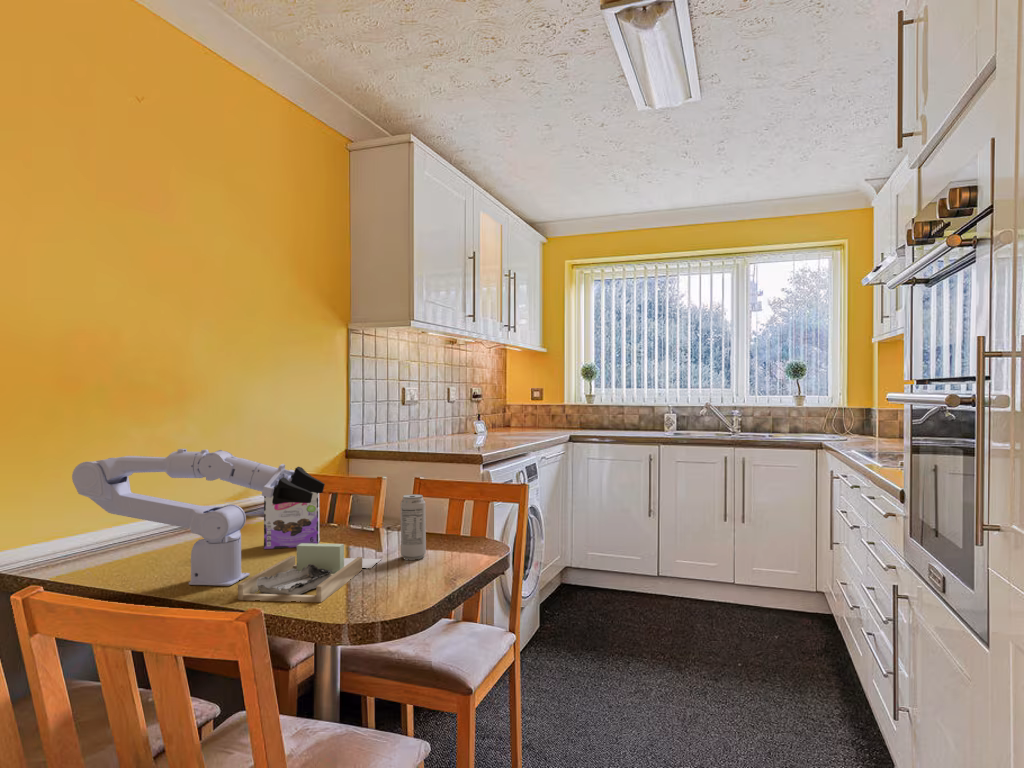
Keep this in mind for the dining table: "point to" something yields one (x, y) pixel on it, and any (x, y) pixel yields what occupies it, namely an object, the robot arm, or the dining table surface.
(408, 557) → the energy drink can
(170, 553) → the dining table surface
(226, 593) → the dining table surface
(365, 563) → the light gray panel
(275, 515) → the candy box
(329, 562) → the pale green block
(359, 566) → the birch rack
